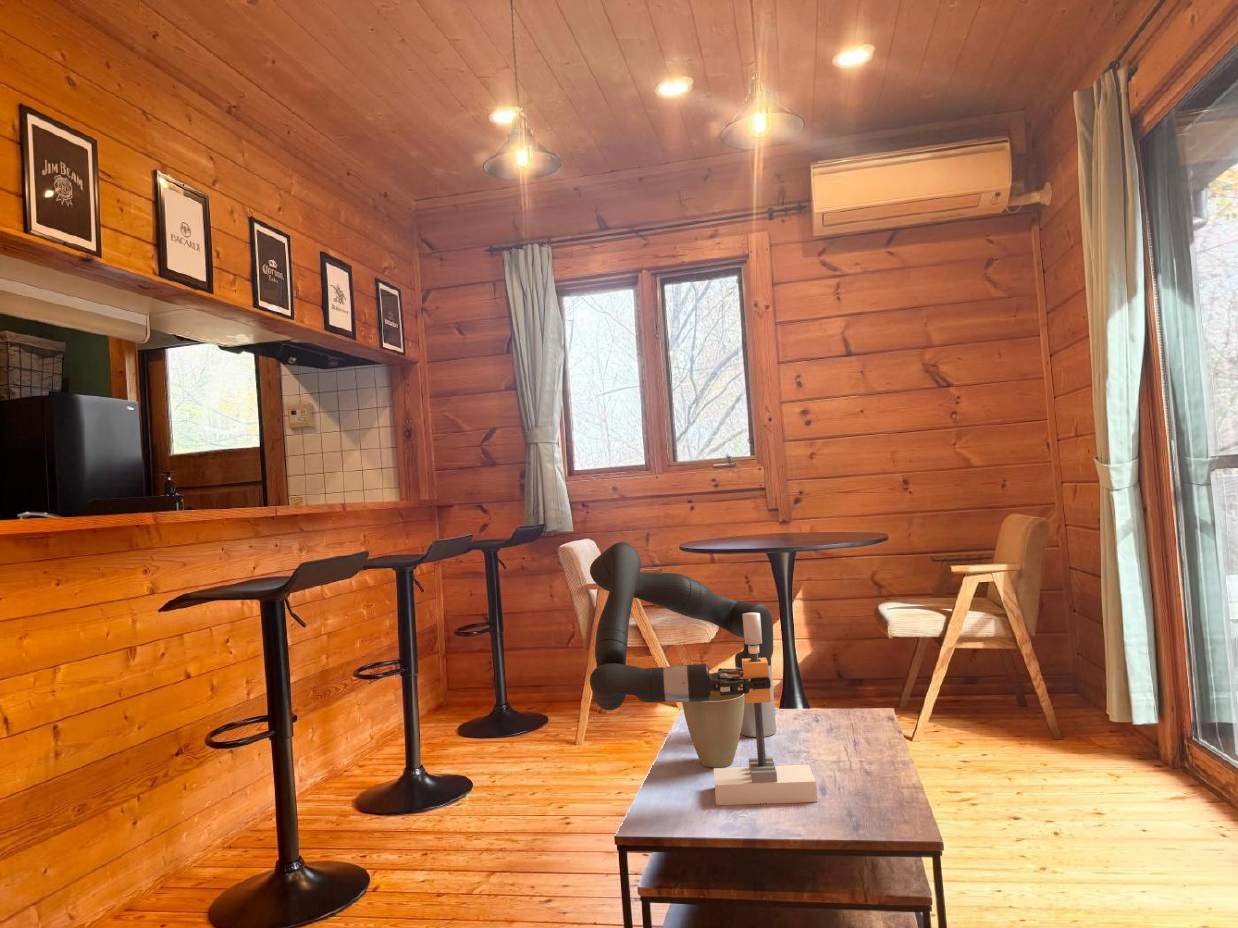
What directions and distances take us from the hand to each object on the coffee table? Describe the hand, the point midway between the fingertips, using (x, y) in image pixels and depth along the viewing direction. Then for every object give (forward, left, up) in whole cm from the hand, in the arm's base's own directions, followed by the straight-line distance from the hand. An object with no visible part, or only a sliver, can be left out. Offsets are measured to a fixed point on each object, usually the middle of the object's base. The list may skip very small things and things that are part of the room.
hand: (768, 679), depth 173 cm
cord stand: (0, -3, -23) cm, 24 cm away
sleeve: (0, -3, -4) cm, 5 cm away
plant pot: (-21, -12, -24) cm, 34 cm away
